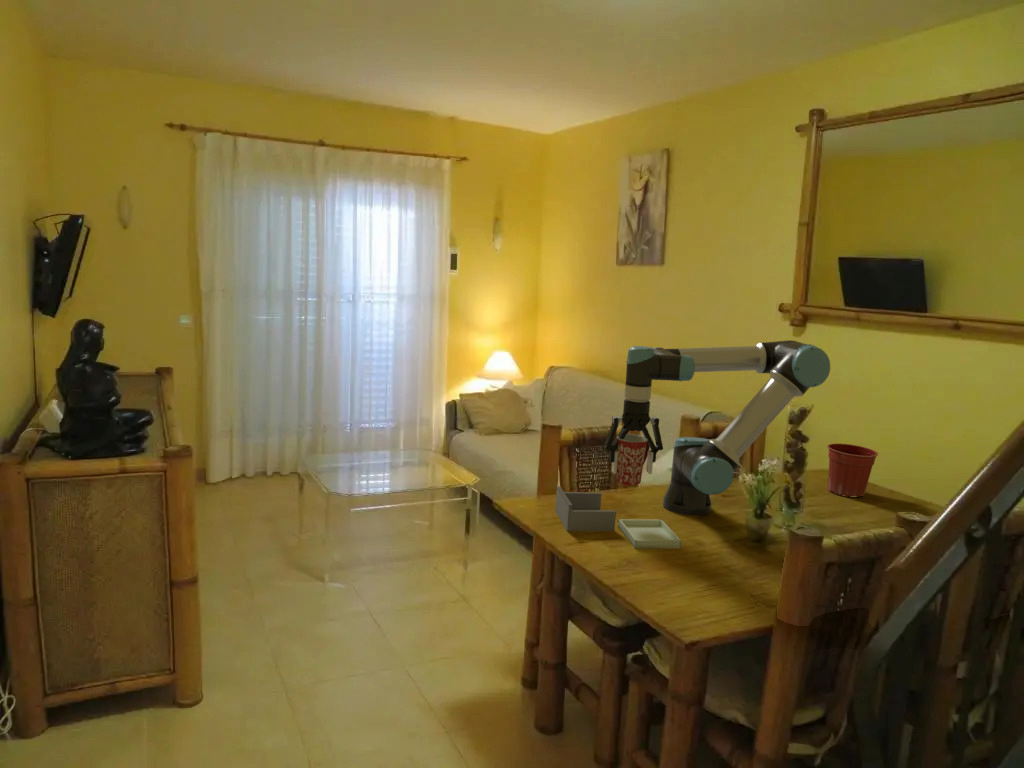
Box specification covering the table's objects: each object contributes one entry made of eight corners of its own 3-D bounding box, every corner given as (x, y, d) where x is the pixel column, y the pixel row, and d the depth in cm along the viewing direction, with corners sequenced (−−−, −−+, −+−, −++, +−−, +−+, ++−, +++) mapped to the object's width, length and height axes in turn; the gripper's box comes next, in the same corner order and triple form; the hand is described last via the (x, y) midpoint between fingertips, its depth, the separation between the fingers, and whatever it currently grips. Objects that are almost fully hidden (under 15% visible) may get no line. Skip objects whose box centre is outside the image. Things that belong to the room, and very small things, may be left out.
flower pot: (882, 499, 256) (889, 455, 253) (842, 501, 252) (849, 456, 249) (849, 484, 272) (855, 443, 269) (811, 486, 267) (817, 443, 265)
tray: (660, 526, 217) (661, 519, 216) (680, 548, 201) (681, 540, 201) (617, 526, 215) (618, 519, 214) (634, 548, 199) (635, 540, 199)
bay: (599, 511, 227) (601, 487, 225) (614, 531, 211) (616, 505, 209) (555, 510, 225) (557, 486, 223) (567, 531, 209) (569, 505, 207)
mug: (630, 488, 210) (634, 443, 208) (606, 479, 217) (610, 436, 214) (657, 481, 219) (661, 437, 216) (633, 473, 225) (637, 431, 223)
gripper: (669, 397, 218) (663, 468, 222) (596, 396, 215) (591, 468, 219) (678, 402, 211) (672, 476, 215) (602, 401, 208) (597, 476, 212)
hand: (631, 472), depth 217 cm, fingers closed on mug, 10 cm apart
